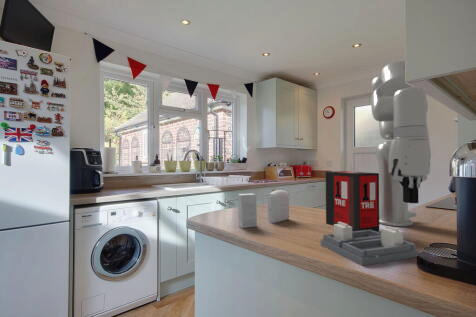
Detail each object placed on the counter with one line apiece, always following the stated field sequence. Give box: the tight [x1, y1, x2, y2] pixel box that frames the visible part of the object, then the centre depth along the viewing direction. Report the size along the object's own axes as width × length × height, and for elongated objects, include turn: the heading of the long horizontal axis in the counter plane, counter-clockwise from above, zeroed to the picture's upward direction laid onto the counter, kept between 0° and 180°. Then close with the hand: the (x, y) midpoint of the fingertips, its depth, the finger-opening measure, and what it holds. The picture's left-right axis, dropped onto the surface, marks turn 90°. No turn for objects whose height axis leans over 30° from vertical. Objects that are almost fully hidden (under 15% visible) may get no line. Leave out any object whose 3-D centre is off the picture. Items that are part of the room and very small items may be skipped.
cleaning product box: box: [325, 170, 380, 233], centre depth 96 cm, size 16×9×20 cm, turn 20°
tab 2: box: [380, 225, 404, 247], centre depth 69 cm, size 3×4×5 cm
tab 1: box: [333, 222, 352, 241], centre depth 74 cm, size 3×4×5 cm
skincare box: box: [237, 192, 258, 229], centre depth 98 cm, size 6×4×12 cm
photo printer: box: [267, 189, 290, 224], centre depth 107 cm, size 10×4×12 cm, turn 133°
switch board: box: [320, 230, 420, 266], centre depth 72 cm, size 18×16×3 cm
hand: (410, 202), depth 71 cm, fingers closed
